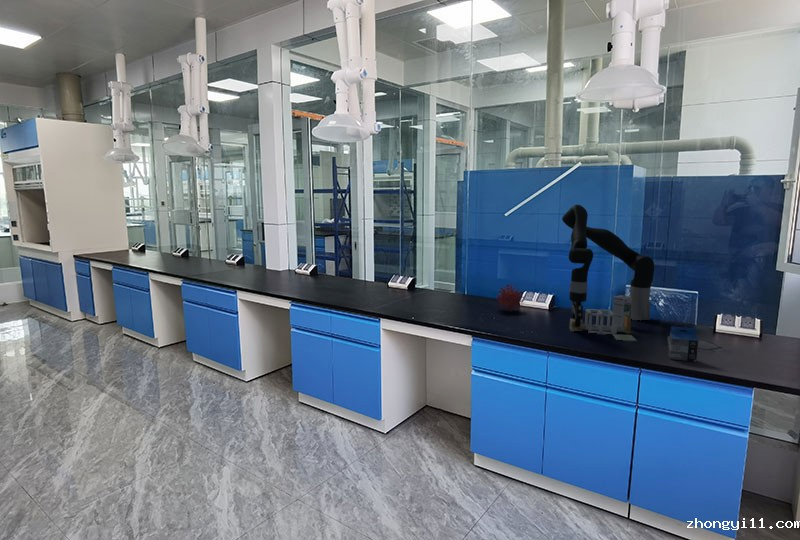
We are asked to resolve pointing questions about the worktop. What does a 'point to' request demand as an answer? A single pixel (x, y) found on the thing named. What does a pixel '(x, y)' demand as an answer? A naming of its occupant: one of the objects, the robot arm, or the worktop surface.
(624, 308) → the syrup box
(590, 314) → the gray angular frame
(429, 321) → the worktop surface
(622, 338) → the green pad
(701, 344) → the security device
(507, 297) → the virus model
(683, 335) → the label tape box
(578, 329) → the beech block
